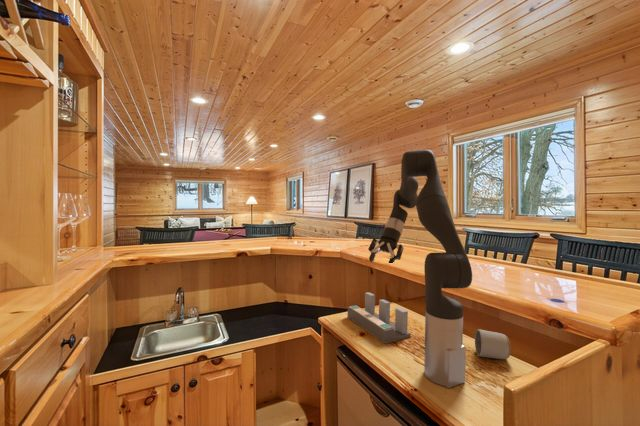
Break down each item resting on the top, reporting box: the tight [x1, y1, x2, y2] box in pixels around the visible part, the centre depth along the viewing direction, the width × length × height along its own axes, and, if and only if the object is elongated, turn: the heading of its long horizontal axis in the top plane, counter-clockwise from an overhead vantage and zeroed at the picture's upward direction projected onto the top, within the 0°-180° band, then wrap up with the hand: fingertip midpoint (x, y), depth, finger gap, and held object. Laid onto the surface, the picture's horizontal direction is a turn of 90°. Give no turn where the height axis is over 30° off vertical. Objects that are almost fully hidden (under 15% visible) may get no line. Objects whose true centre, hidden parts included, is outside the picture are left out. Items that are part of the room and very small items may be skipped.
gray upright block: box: [378, 299, 391, 323], centre depth 111 cm, size 4×2×8 cm, turn 25°
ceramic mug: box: [474, 328, 512, 360], centre depth 90 cm, size 11×8×8 cm
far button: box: [364, 291, 376, 314], centre depth 119 cm, size 4×2×8 cm, turn 25°
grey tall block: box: [394, 307, 409, 334], centre depth 102 cm, size 4×2×8 cm, turn 25°
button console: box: [347, 304, 412, 344], centre depth 109 cm, size 24×11×5 cm, turn 25°
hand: (379, 264), depth 123 cm, fingers open, 8 cm apart
